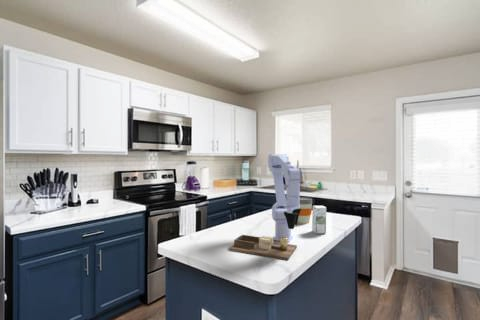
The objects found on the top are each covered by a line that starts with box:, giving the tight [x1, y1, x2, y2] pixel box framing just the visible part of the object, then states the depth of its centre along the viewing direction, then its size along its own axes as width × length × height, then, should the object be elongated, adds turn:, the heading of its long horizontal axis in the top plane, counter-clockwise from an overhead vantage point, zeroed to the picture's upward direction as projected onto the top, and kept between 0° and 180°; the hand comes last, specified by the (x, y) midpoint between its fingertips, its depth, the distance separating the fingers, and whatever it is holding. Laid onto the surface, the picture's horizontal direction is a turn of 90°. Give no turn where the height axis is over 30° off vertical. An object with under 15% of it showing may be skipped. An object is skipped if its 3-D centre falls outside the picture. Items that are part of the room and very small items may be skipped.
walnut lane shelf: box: [229, 234, 298, 261], centre depth 115 cm, size 16×26×4 cm, turn 66°
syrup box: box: [311, 205, 327, 235], centre depth 141 cm, size 6×6×14 cm
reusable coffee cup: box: [297, 196, 313, 224], centre depth 165 cm, size 13×13×15 cm
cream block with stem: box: [259, 235, 288, 251], centre depth 113 cm, size 5×12×5 cm, turn 66°
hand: (292, 226), depth 114 cm, fingers open, 7 cm apart
